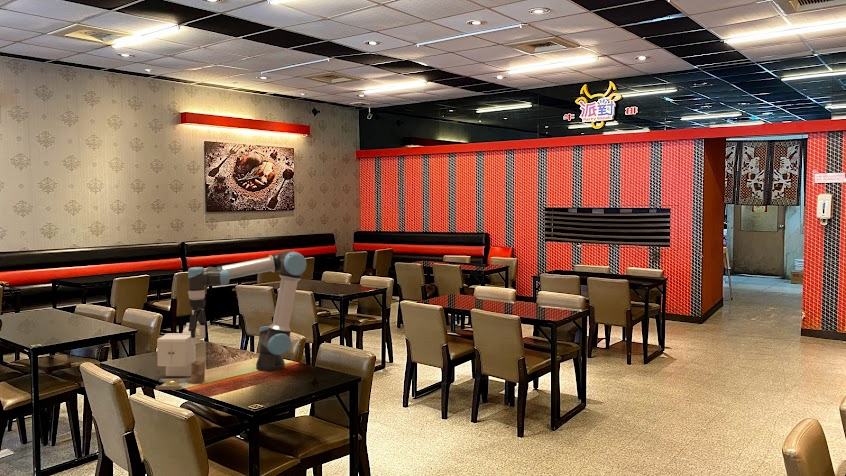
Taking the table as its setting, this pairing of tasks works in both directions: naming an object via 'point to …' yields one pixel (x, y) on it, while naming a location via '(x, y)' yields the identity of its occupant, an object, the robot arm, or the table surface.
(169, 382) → the brass puck
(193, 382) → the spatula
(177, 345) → the wall cabinet
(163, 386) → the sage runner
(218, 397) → the table surface
